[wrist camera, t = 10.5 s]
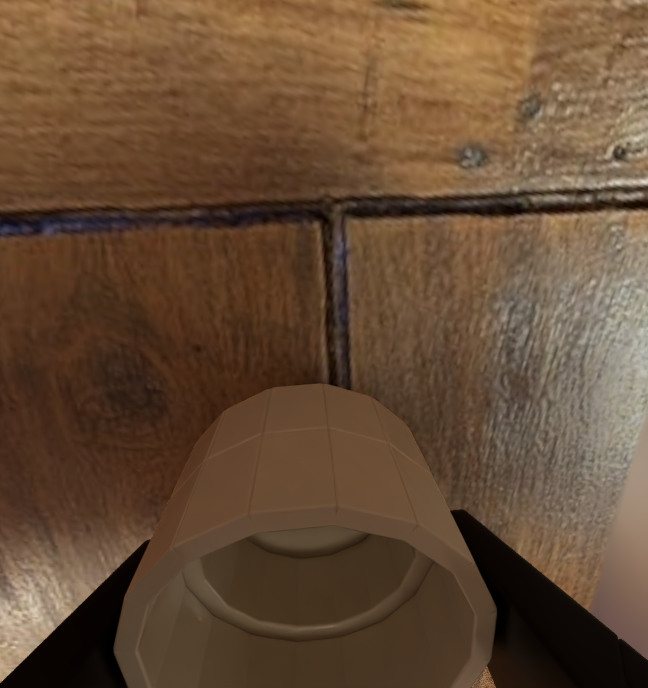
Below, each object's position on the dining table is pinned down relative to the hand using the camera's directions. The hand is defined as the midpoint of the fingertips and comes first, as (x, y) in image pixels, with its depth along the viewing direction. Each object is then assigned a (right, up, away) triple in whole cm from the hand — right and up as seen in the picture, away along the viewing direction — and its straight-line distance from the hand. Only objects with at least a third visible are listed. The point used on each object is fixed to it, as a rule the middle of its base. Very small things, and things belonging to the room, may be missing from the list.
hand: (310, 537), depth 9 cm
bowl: (0, +1, +2) cm, 2 cm away
